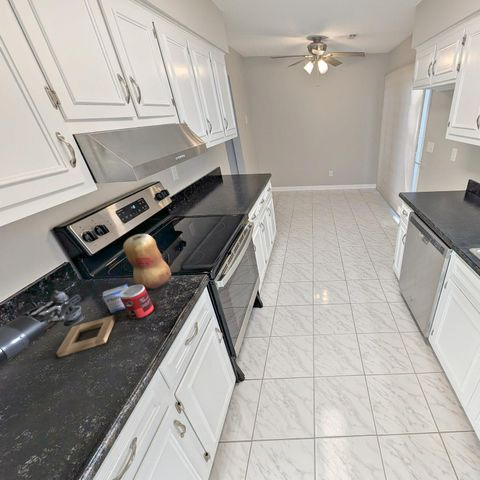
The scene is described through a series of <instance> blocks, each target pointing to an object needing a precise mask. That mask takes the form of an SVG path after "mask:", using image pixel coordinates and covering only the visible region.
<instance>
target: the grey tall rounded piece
mask: <svg viewBox="0 0 480 480" xmlns="http://www.w3.org/2000/svg"><path fill="white" fill-rule="evenodd" d="M66 295H67V294H66V293H65V292H64V291H58V290H56V289H55V290H54V293H53V294H52V295H51V298H52V300H53V301H55V303H56V305H57V306H59V305H60V304H62V303H64V302H66V301H67V300H68V298H67V296H66ZM56 305H55V306H56ZM73 306H74V308H75V310H74V311H73V312H72V314H71V315H70V316H69V317H68V318H67V320H65V321H63V326H65V327H71V326H75V325H76V324H78V323H80V322H81V321H83V320H84V319H85V317H86V316H85V315H86V314H83V313H82V306H81V305H73ZM64 307H65V306H63V307H62V308H61V309H63V308H64Z"/></svg>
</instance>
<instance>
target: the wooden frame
mask: <svg viewBox="0 0 480 480" xmlns="http://www.w3.org/2000/svg"><path fill="white" fill-rule="evenodd" d="M116 320H117V318H116V316H115V315H114V314H113V315H110V316H105V317H102V318H99V319H95V320H92V321H88V322H84V323H81V324H77V325H72V327H71V328H70V330H69V332H68V333H67V335H66V336H65V338H64V340H63V341H62V342H61V344H60V346H59V348H58V349H57V351H56V352H55V355H57V357H58V358H61V357H65V356H68V355H71V354H73V353H77V352H80V351H81V352H82V351H84V350H88V349H91V348H94V347H97V346H101V345H103V344H106V343H107V341H108V338H109V336H110V334H111V332H112V330H113V327H114V325H115V322H116ZM99 328H100V329H99ZM96 329H99V331H98V333H97V335H96V336H94V337H91V338H87V339H84V340H81V341H78V339H79V337H80V335H81V333H84V332H87V331H91V330H96Z"/></svg>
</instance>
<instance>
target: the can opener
mask: <svg viewBox="0 0 480 480" xmlns="http://www.w3.org/2000/svg"><path fill="white" fill-rule="evenodd" d="M55 323H56V321H54V322H53V323H52V324H50V325H48V326H46V328H45V331H46V330H47V329H49V328H50V327H52V326H53V325H54V324H55Z"/></svg>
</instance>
